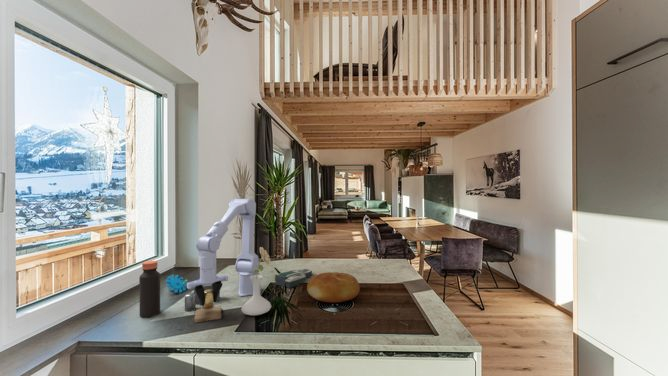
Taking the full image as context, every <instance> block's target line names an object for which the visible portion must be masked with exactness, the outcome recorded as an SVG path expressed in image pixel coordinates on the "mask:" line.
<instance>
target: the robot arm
mask: <svg viewBox="0 0 668 376" xmlns="http://www.w3.org/2000/svg"><path fill="white" fill-rule="evenodd" d="M256 210H257V203H256V201H255V200H254V199H253V198H232V199H231V201H230V202H229V203H228V209H227V211H226V212H225V214H224V215H223V217H222V218H221V219H220V220H219V221H216V222H214V223H213V225H212V227H211V228H210V229H208V231H207V232H206V234H205V235H203V236H201V237H199V238H198V240H197V242H196V244H195V246H196V250H197V251H198V255H199V279H196V280H193V281H189V282H188V281H187V282H186V285H187V287H186V289H188V290H191V289H193V290H194V289H195V291H196V292H197V295H198V297H199V301H200V303H199V305H200V306H201V307H202V306H204V290H205V289H204V288H203V285H208V284H212V290H214V304H215V303H217V302H218V301H217V297H218V293H219V291H221V289H222V288H223V282H228V281H229V275H227V274H224V275H223V274H222V275H217V251H218V250H219V249H220V246H221V242H222V239H223V238H224V236H225V235H226V233H227V232H228V231H229V228H228V226H229V225H230V224H231V223H232V221H233V220H235V218H236V217H237V216H239V217H240V218H242V228H241V231H242V233H241V253H239V254H238V255H237V256H236V262H235V264H234V267H235V268H234V269H235V271H236V272H237V274H238V275H239V276H238V280H239V281H238V282H239V283H238V284H239V285H238V287H239V289H238V290H237V294H238V297H245V296H246V297H247V296H253V293H254V288H253V282H252V280H251V279H250V277H251V276H253V275H261V272H260V270H259V268H258V265H261V263H260V264H259V262H260V260H259V255H257V254H256V253H255V252H254V248H255V247H254V243H255V242H254V241H255V240H254V239H255V219H256V218H255V217H256V215H257V214H256V213H257V211H256ZM255 269H256V270H257V269H258V270H259V272H258V274H257V273H253V272H254V270H255ZM261 285H262V284H260V287H259V292H260V294H261Z"/></svg>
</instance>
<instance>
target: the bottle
mask: <svg viewBox="0 0 668 376" xmlns="http://www.w3.org/2000/svg"><path fill="white" fill-rule="evenodd" d="M141 265H142V266H141V267H142V271H143V272H142V273H141V274H140V275H139V284H138V285H139V290H138V291H139V292H138V293H139V296H138V297H139V317H140V318H151V317H154V316H155V317H156V316H157V315H159V313H161V273H160V272H159V271H158V270H157V269H158V261H157V260H147V261H145V262H141Z"/></svg>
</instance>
